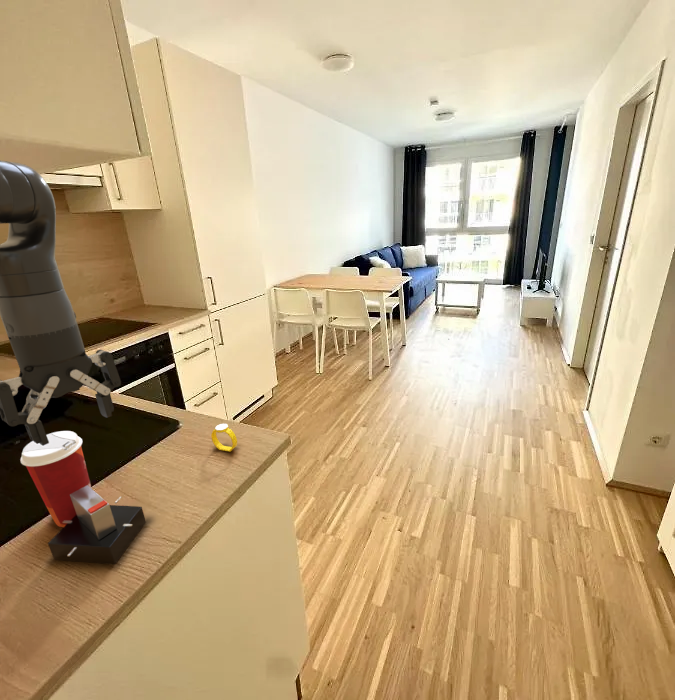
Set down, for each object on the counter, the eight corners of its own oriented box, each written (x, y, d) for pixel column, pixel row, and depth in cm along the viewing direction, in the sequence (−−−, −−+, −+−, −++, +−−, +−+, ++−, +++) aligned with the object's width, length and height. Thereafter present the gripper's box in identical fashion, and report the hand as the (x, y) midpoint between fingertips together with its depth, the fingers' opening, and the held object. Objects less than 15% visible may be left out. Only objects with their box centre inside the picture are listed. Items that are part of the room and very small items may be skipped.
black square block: (39, 571, 54) (31, 553, 52) (95, 511, 65) (89, 494, 63) (112, 576, 53) (106, 558, 51) (156, 514, 63) (152, 497, 62)
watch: (240, 448, 81) (237, 425, 79) (233, 455, 79) (229, 432, 77) (219, 443, 83) (215, 421, 81) (211, 450, 81) (207, 427, 79)
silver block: (78, 518, 58) (69, 493, 57) (95, 508, 60) (87, 483, 58) (99, 540, 54) (89, 513, 52) (117, 528, 56) (108, 502, 54)
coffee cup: (112, 498, 67) (91, 429, 62) (78, 534, 60) (51, 459, 54) (72, 495, 68) (47, 428, 63) (33, 531, 61) (2, 457, 55)
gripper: (87, 310, 56) (113, 402, 61) (-38, 335, 45) (8, 445, 50) (111, 316, 52) (137, 414, 57) (-19, 345, 41) (28, 463, 46)
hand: (76, 428), depth 54 cm, fingers open, 8 cm apart
